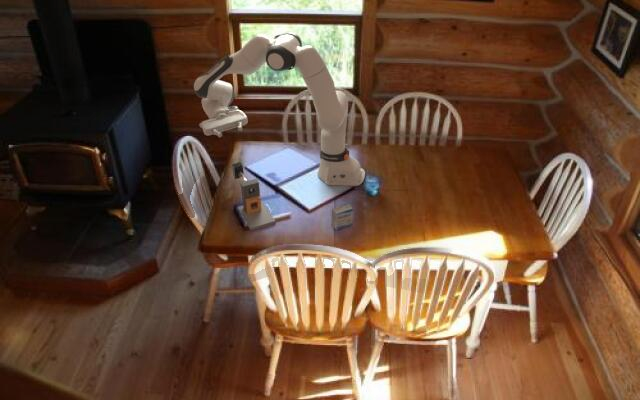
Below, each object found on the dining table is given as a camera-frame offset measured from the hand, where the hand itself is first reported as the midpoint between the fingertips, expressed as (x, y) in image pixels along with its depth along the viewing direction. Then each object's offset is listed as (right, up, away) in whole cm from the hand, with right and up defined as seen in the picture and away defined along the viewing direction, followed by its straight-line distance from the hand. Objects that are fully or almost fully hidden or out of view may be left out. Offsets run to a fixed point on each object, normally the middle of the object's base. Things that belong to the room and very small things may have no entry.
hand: (230, 132), depth 228 cm
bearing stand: (+12, -37, -6) cm, 39 cm away
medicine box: (+48, -40, -10) cm, 64 cm away
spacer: (+11, -34, -5) cm, 36 cm away
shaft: (+6, -23, -1) cm, 23 cm away
